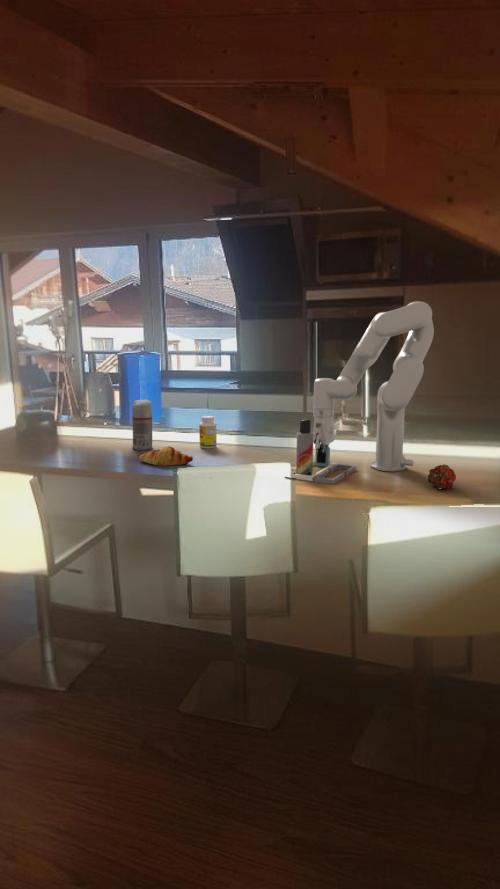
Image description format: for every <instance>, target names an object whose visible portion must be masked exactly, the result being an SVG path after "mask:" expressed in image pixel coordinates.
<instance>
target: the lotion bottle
mask: <svg viewBox="0 0 500 889" xmlns="http://www.w3.org/2000/svg"><path fill="white" fill-rule="evenodd" d="M311 430H312V421H311V419H310V418H308V419H306V418H305V419H302V420H299V432H297V433H296V448H295V449H296V451H295V453H296V454H295V455H296V456H295V458H296V459H295V460H296V461H295V467H296V473H295V474H301V475H309V476H312V475H313V474H314V473H313V472H314V470H313V468H314V465H313V460H314V443H313V432H311Z"/></svg>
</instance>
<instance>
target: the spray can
mask: <svg viewBox="0 0 500 889" xmlns="http://www.w3.org/2000/svg"><path fill="white" fill-rule="evenodd" d="M152 409H153V408H152V401H151V400H149V399H147V398H145V399H136V400H134V401H133V403H132V409H131V411H132V414H131V415H132V416H131V418H132V419H131V421H132V422H131V424H132V449H133V450H137V451H147V450H151V449H152V450H153V410H152Z"/></svg>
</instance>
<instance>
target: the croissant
mask: <svg viewBox="0 0 500 889" xmlns="http://www.w3.org/2000/svg"><path fill="white" fill-rule="evenodd" d="M138 459H139V460H140V461H142V462H143V463H146V464H149V465H154V466H163V467H164V466H165V467H169V466H183V465H187V464H190V463H191V462H192V461H193V459H194V457H193V456H191V455H188V454H186V453H182V452H181V451H180V450H178V449H177V450H176V449H175V448H174V446H170V445H168V446H166V447H165V446H164V447H162V448H161V449H159V448H158V449H152V450H151V451H147V452H144V453H143V454H140V455H139V458H138Z"/></svg>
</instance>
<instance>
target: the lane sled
mask: <svg viewBox="0 0 500 889" xmlns="http://www.w3.org/2000/svg"><path fill="white" fill-rule="evenodd" d="M325 453H326V463H318V462H317V449H316V448H315V456H314V458H315V459H313V466H315V467H316V466H317V467H323V469H321V470H319V471H317V472H315V473H312V476H309V475H301V474H296V473H295V476H296V480H301V481H309V482H314V477H315V476H317V475H319V474H320V473H322V472H324V471H327V473H329V468H331V467H332V466H334V465H336V464H337V462H330V461H331V457H330V456H331V447H330V446H329V447H325ZM294 468H295V471H296V466H295V467H294Z"/></svg>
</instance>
